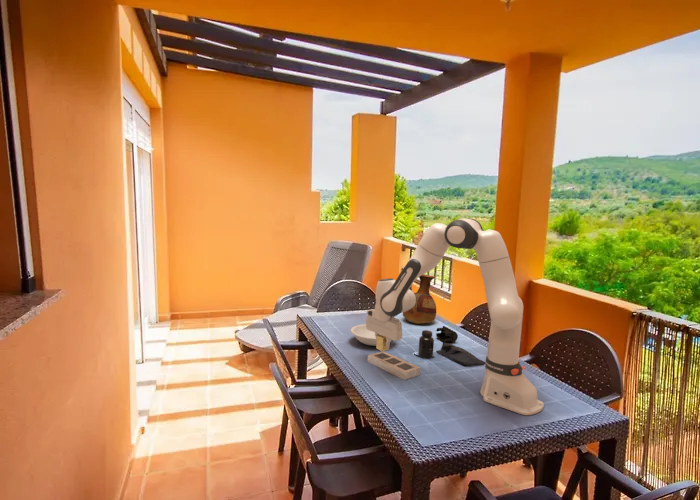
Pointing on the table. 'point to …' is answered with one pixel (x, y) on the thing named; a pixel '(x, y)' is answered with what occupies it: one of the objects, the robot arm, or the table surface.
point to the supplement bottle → (426, 345)
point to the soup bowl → (364, 335)
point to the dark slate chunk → (459, 355)
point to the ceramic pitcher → (422, 303)
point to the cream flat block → (394, 365)
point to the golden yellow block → (381, 343)
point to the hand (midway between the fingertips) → (382, 344)
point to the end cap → (446, 335)
